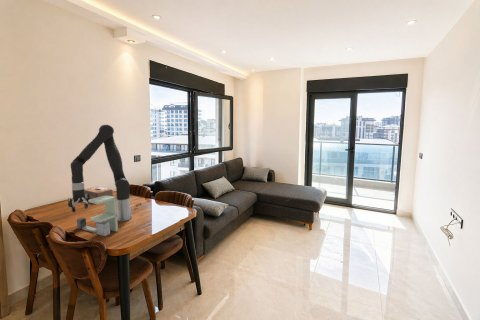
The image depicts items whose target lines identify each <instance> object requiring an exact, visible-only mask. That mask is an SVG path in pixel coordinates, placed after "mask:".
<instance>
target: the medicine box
mask: <svg viewBox="0 0 480 320" xmlns="http://www.w3.org/2000/svg"><path fill="white" fill-rule="evenodd" d="M95 228H96V232H95V233H96V235H98V236H103V237H107V236H108V235H111V230H110V226H109V222H106V220H105V221H103V222H100V223H99V222H95Z"/></svg>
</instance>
